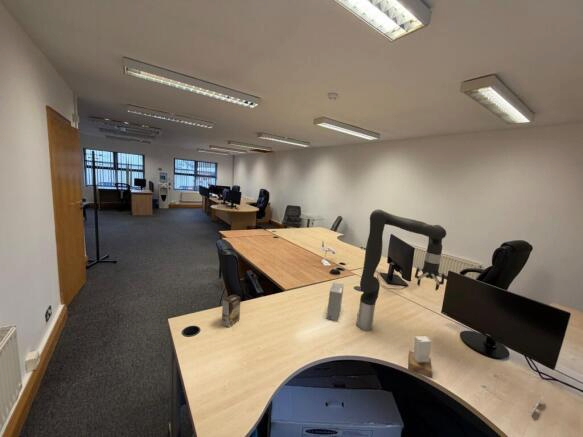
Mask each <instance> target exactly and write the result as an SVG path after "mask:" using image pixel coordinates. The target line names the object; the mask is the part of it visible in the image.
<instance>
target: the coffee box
mask: <svg viewBox="0 0 583 437" xmlns="http://www.w3.org/2000/svg"><path fill="white" fill-rule="evenodd" d="M221 313H222V314H221V315H222V316H221V325H223V326H225V325H226V326H228V327H229V328H231V327H232V326H234V325H236V324H237V323H238V322H240V321H239V320H241V318H240V317H241V296H238V295H237V294H231V295H229V296H227V297H225V298H223V299H222V311H221ZM237 321H238V322H237ZM236 322H237V323H236ZM233 324H234V325H233ZM226 326H225V327H226ZM230 326H231V327H230ZM228 327H227V328H228Z"/></svg>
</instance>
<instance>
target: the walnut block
mask: <svg viewBox="0 0 583 437" xmlns="http://www.w3.org/2000/svg"><path fill="white" fill-rule="evenodd" d="M413 352H414V351H411V350H409V351H408V358H407V359H408V360H407V369H408V370H410V371H413V372H415V373H418V374H420V375H422V376H426V377H428V378H432V373H433V369H432V358H431V357H429V362H421V363H417V361H416V360H415V359H414V358H413Z"/></svg>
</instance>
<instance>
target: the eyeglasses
mask: <svg viewBox="0 0 583 437" xmlns="http://www.w3.org/2000/svg"><path fill="white" fill-rule="evenodd" d="M490 374H491V375H492V376H493V377H496V376H502V377H505V378H508V379H510V380H512V381H514V379H513V378H511V377H509V376H507V375H504V374H499V373H490ZM516 383H518V384H520V385H521V383H520V382H518V381H516ZM479 386H481V387H483V388H485V387H487V388H490V389H493V390H494V391H497V392H498V393H500V394H501V395H503V396H505V397H506V399H509V400H510V401H512V399H511V398H509V397H508V396H506V395H505V394H503V393H502V392H500V391H499V390H498V389H496V388H494V387H493V386H489V385H487V384H480V385H479ZM523 387H525V388H526V389H528V387H527V386H525V385H523ZM530 391H532V392H533V393H534V394H537V395H538V397H540V399H539V400H538V402H536V403H535V405H534V406H533V407H532V408H533V410H532V411H531V410H530V409H527V408H525V407H523V406H522V408H524V409H525V410H526V411H527V412H529V413H530V417H532V416H533V415H534V413H536V410H537V408H538V407H539V406H540V404H541V402H542V400H543V398H544V397H543V396H542V395H541V394H539V393H537V392H535V391H533V390H532V389H530ZM514 403H516V404H517V405H519V406H520V404H519V403H517V402H516V401H514Z"/></svg>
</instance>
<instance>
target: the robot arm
mask: <svg viewBox="0 0 583 437" xmlns="http://www.w3.org/2000/svg"><path fill="white" fill-rule="evenodd" d="M387 225H388V226H392V227H395V228H399V229H401V230H403V231H407V232H410V233H414V234H417V235H423V236H425V237H428V243H427V247H426V253H425V256H424V261H423V267H422V268H421V267H419V266H417V267H416V270H415V274H414V278H416V279H417V282H416V284H417V285H418V287H420V285H421V281H422V279H423V278H427V279H430V280H431V279H432V280H434V281H435V283H436V284H435V291H436V292H437V291H438V290H439V288H440V285H443V286H444V283H445V277H446V276H445V275H446V274H445V273H444V272H443V273H441V272H440V270H439V269H440V264H441V262H442V261H441V260H442V250H443V244H442V242H443V239H444V238H446V237H447V230H446V229H445V228H444V227H443V226H442V225H439V224H433V225H432V224H428V223H426V222H424V221H420V220H416V219H411V218H406V217H402V216H398V215H395V214H392V213H389V212H386V211H385V210H382V209H375V210H373V211H372V212H371V213H370V216H369V233H368V237H367V241H366V245H365V253H364V254H365V255H364V262H363V269H362V273H361V277H360V282H359V287H360V290H361V291H362V294H361V295H360V298H359V299H360V300H359V305H358V306H359V307H358V311H357V315H356V316H357V317H356V324H355V326H356V325H357V327H358V328H359V329H360V330H363V331H367V332H368V331H371V330H372V329H373V323H374V316H375V311H376V310H375V309H376V302H377V300H378V298H379V294H380V287H381V286H380V284H381V283H380V280H379V279H378V277H376V276H375V272H376V270H377V268H378V266H379V264H380V262H381V260H382V254H383V253H382V252H383V234H384V230H385V226H387ZM420 272H422V274H420V275H419V273H420ZM438 276H439V277H440V278H441V279H440V280H441V281H440V280H439V278H438Z"/></svg>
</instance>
